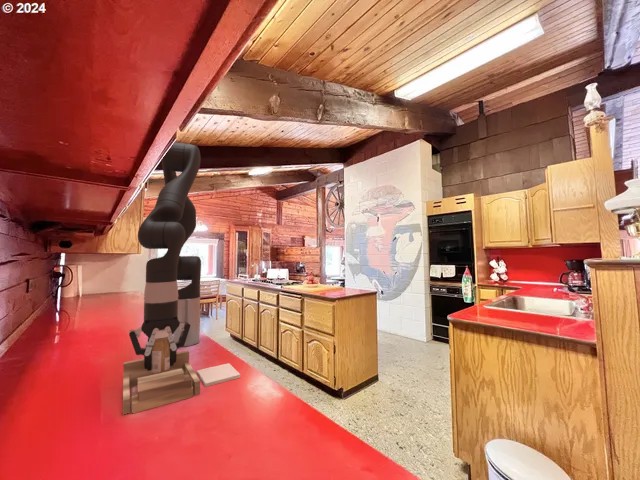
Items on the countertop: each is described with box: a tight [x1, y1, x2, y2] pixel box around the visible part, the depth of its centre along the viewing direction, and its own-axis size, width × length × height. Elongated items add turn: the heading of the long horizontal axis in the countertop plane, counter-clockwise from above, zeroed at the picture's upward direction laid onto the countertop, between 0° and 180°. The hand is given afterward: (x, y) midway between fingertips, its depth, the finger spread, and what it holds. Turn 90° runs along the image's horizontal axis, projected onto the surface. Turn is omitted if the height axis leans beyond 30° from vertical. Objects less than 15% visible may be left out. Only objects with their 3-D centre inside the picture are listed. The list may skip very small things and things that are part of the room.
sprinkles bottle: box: [151, 329, 171, 375], centre depth 70 cm, size 5×5×14 cm
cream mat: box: [196, 362, 241, 388], centre depth 77 cm, size 10×9×1 cm
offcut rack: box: [122, 349, 201, 416], centre depth 69 cm, size 16×15×6 cm
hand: (160, 366), depth 70 cm, fingers closed on sprinkles bottle, 4 cm apart
